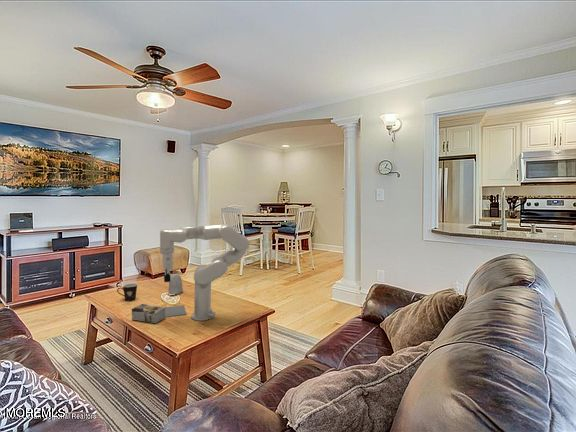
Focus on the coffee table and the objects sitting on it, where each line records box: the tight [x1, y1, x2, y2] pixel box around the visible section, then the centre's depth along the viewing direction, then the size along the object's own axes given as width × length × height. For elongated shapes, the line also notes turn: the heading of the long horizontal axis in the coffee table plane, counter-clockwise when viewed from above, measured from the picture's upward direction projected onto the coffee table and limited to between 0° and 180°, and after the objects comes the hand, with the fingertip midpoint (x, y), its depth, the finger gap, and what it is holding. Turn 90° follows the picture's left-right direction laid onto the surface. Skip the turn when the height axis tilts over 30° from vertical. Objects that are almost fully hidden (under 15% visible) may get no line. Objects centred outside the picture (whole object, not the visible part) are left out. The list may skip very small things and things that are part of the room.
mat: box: [164, 304, 188, 318], centre depth 193 cm, size 16×24×1 cm, turn 114°
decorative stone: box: [168, 273, 184, 295], centre depth 227 cm, size 11×6×15 cm, turn 154°
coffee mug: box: [116, 283, 138, 302], centre depth 213 cm, size 12×9×10 cm
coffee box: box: [131, 303, 166, 324], centre depth 182 cm, size 9×6×16 cm
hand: (167, 281), depth 182 cm, fingers closed
